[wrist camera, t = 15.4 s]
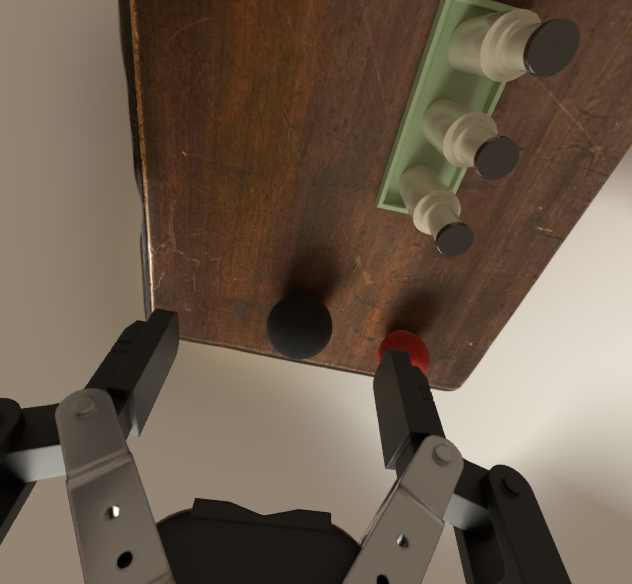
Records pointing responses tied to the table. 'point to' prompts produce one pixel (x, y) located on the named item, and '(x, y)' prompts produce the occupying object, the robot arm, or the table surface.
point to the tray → (429, 87)
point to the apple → (407, 347)
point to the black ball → (299, 326)
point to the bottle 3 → (435, 210)
